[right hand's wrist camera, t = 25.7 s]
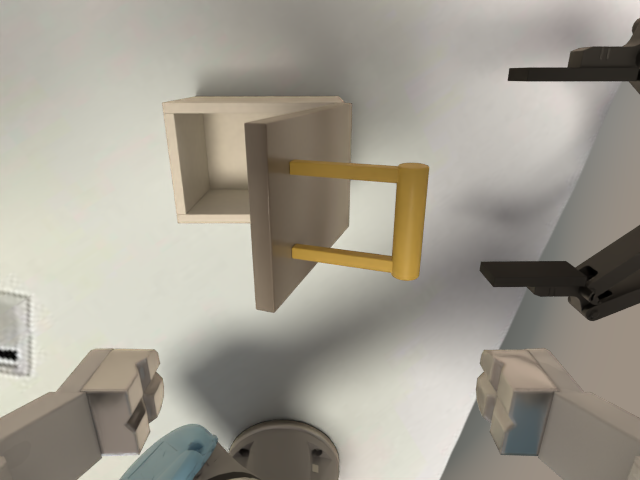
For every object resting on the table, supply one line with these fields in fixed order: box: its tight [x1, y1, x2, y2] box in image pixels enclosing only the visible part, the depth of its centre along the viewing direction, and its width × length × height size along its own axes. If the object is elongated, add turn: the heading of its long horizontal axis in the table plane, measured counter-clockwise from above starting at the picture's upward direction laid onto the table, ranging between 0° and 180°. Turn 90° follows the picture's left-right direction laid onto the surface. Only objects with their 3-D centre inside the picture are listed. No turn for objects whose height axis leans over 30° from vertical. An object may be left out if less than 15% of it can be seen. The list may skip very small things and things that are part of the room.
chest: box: [162, 96, 344, 223], centre depth 39 cm, size 14×10×9 cm
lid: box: [244, 103, 429, 313], centre depth 26 cm, size 15×10×8 cm
